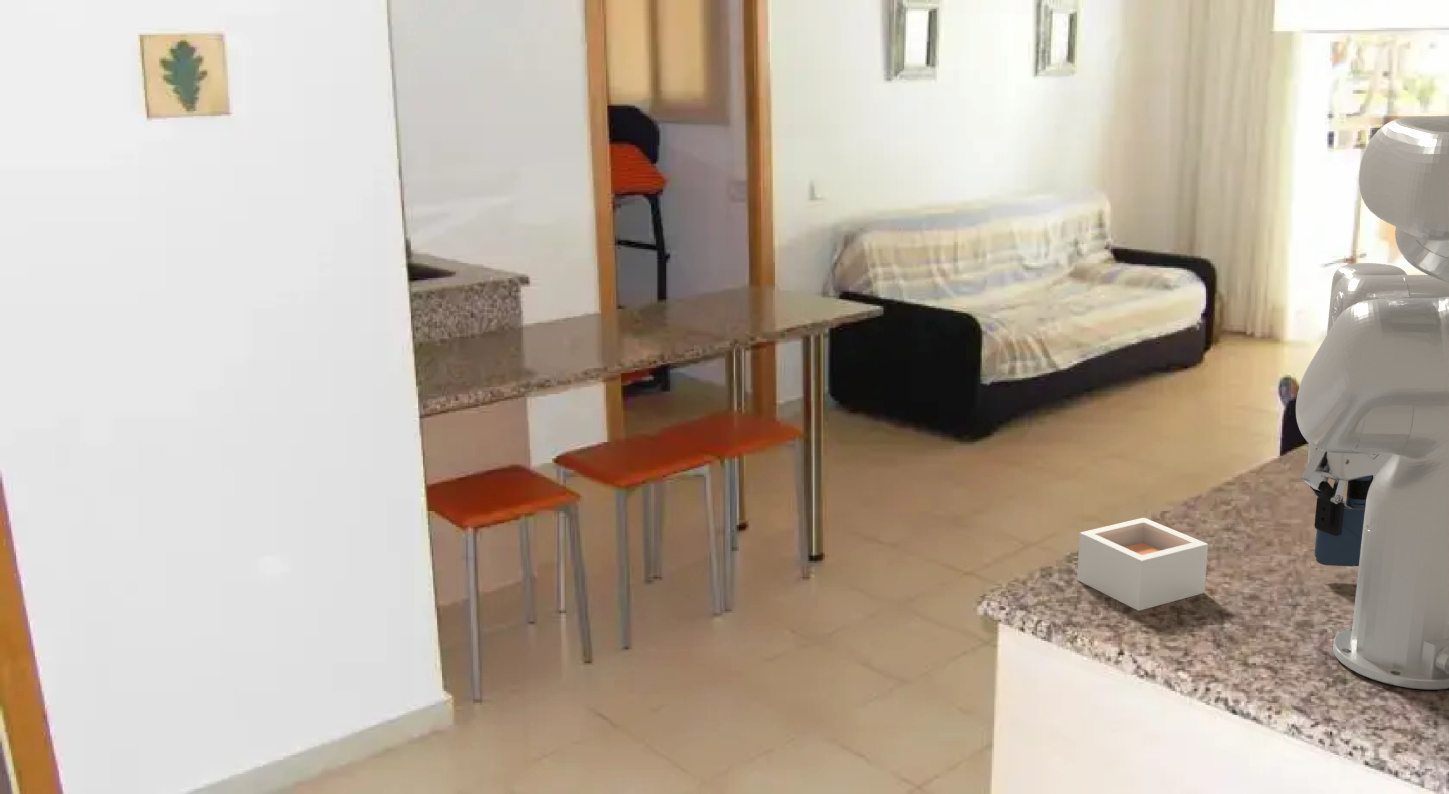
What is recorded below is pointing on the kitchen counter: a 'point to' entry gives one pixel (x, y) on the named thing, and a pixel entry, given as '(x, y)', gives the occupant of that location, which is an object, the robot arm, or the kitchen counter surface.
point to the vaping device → (1346, 529)
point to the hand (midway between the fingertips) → (1343, 526)
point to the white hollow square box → (1142, 563)
